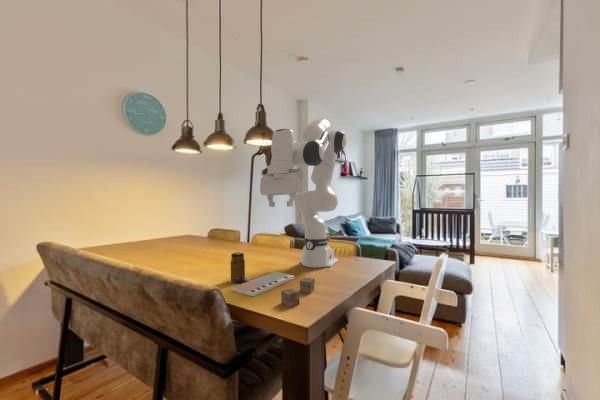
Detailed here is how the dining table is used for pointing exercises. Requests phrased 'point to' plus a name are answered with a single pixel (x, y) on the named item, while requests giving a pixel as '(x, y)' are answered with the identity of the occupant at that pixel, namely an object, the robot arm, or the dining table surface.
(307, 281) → the walnut block
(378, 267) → the dining table surface
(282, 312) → the dining table surface
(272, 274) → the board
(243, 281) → the condiment
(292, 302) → the walnut block
